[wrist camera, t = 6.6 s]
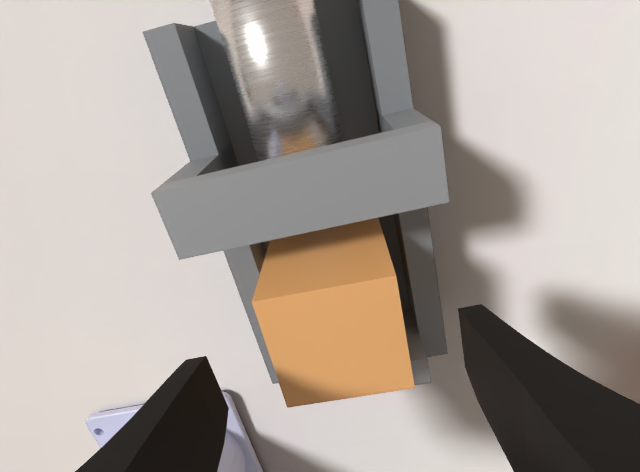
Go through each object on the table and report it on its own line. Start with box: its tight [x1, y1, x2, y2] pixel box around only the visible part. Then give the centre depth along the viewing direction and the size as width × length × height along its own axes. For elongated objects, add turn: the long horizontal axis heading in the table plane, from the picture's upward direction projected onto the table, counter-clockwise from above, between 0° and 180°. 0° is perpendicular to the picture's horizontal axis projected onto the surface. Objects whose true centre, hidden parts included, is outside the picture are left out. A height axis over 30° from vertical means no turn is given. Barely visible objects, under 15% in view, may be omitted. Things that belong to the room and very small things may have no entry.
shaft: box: [210, 0, 344, 161], centre depth 12 cm, size 7×4×4 cm, turn 13°
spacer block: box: [252, 218, 415, 408], centre depth 15 cm, size 4×4×6 cm
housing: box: [143, 0, 449, 385], centre depth 14 cm, size 14×8×6 cm, turn 13°
